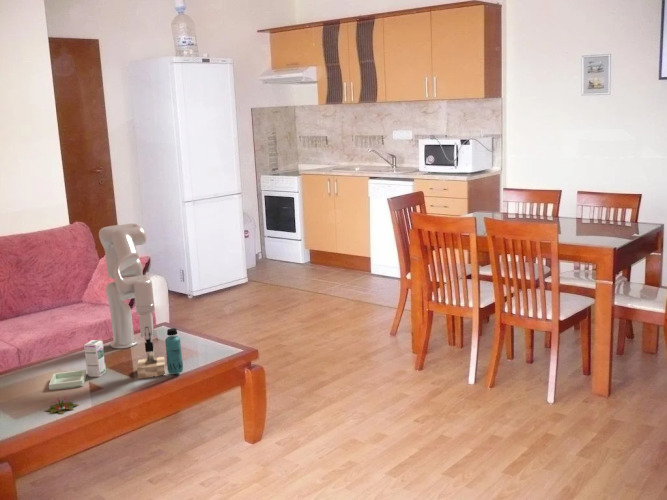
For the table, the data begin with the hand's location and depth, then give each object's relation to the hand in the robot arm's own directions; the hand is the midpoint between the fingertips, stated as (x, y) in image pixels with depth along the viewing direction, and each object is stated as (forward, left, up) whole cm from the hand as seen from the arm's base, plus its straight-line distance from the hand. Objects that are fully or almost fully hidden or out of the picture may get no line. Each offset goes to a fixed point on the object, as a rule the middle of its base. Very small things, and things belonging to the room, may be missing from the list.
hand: (149, 349), depth 295 cm
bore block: (0, 0, -10) cm, 10 cm away
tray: (0, -34, -10) cm, 36 cm away
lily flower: (+27, -33, -11) cm, 44 cm away
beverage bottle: (+6, +10, -11) cm, 16 cm away
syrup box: (-6, -23, -11) cm, 26 cm away
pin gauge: (0, 0, -5) cm, 5 cm away
